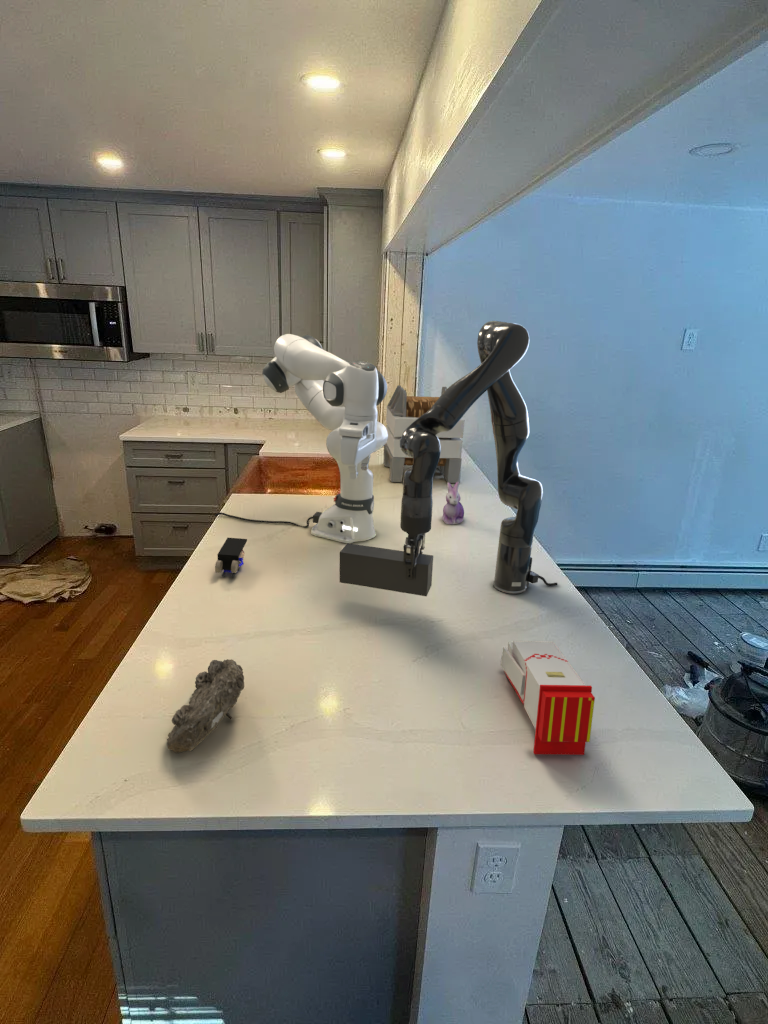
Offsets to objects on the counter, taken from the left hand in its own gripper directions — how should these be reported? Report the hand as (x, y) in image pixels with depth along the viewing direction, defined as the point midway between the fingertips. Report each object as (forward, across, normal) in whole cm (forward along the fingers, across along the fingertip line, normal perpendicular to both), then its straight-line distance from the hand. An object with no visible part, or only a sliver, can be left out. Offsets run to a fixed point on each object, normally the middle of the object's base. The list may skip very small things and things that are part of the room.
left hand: (359, 474), depth 156 cm
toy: (+31, +42, +53) cm, 75 cm away
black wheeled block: (+31, +9, -36) cm, 48 cm away
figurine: (+32, -57, +19) cm, 68 cm away
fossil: (+31, +67, -6) cm, 74 cm away
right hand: (+19, +16, +20) cm, 32 cm away
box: (+24, +16, +13) cm, 32 cm away
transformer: (+32, -117, -7) cm, 121 cm away
